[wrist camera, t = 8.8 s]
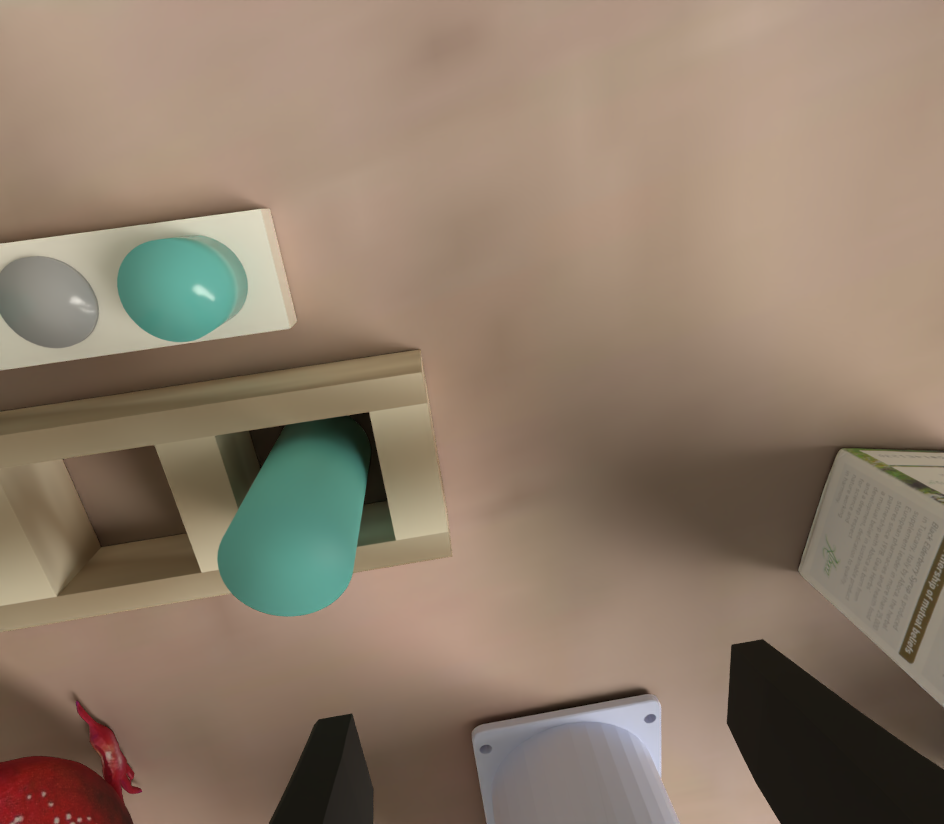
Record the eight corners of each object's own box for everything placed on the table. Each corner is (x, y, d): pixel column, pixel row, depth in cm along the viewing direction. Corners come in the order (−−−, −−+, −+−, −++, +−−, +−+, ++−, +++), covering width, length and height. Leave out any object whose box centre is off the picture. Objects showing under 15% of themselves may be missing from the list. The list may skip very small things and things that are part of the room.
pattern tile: (297, 321, 17) (273, 345, 14) (-120, 381, 16) (-233, 419, 13) (269, 208, 15) (238, 209, 13) (-181, 268, 15) (-319, 284, 12)
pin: (378, 483, 19) (365, 604, 13) (290, 498, 19) (239, 626, 13) (360, 401, 18) (338, 495, 12) (266, 417, 18) (199, 518, 12)
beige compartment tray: (447, 514, 19) (462, 639, 14) (-115, 606, 18) (-344, 781, 13) (420, 349, 17) (424, 419, 12) (-219, 444, 16) (-548, 569, 11)
